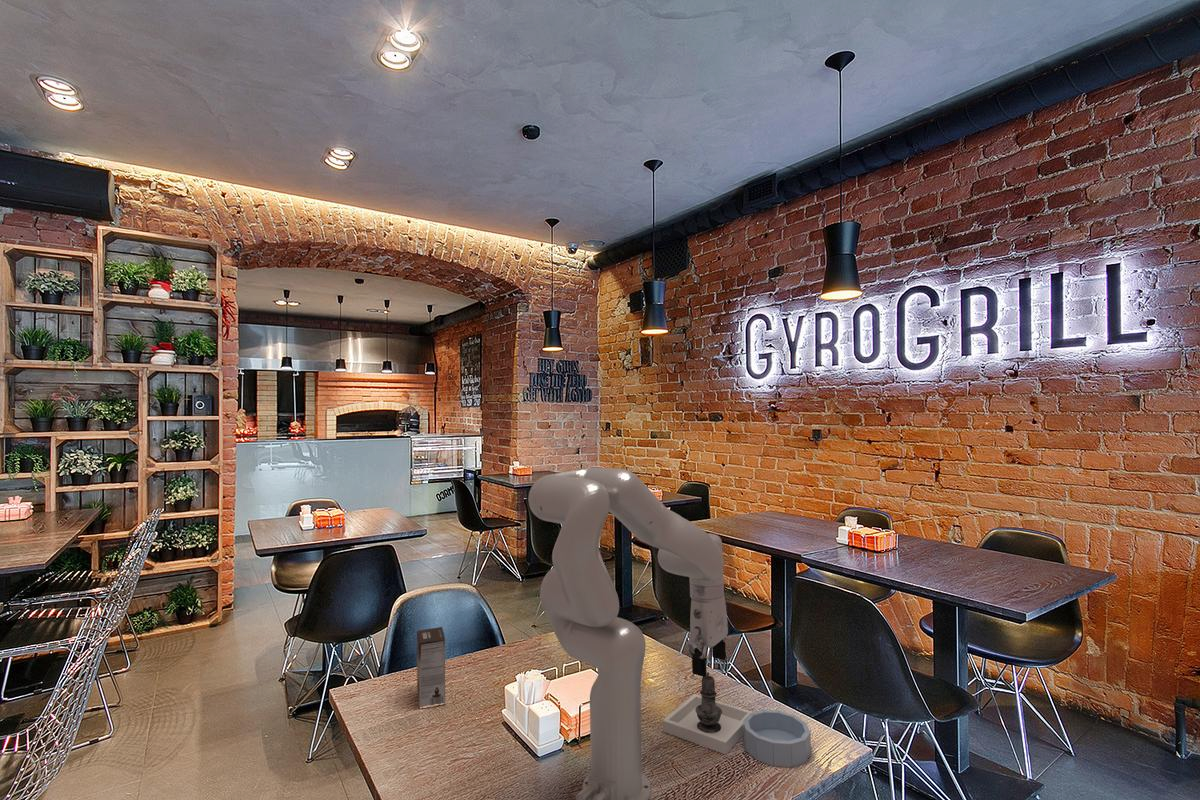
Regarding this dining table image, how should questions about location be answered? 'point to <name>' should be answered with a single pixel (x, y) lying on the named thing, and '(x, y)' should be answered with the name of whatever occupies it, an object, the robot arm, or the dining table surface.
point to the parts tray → (685, 727)
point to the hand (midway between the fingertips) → (709, 666)
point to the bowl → (777, 738)
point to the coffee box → (431, 666)
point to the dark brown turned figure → (708, 707)
